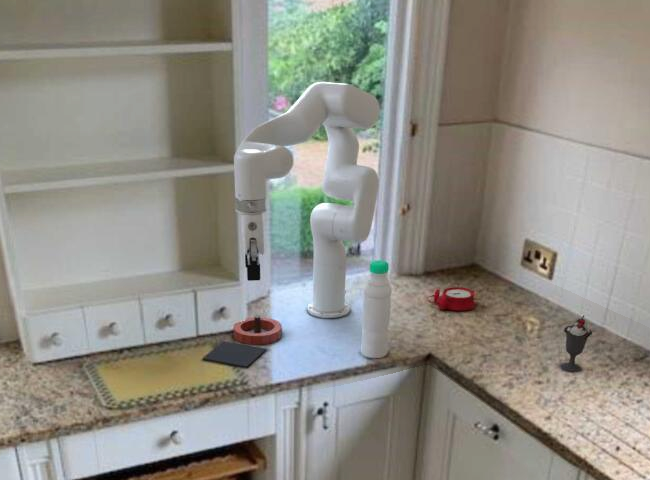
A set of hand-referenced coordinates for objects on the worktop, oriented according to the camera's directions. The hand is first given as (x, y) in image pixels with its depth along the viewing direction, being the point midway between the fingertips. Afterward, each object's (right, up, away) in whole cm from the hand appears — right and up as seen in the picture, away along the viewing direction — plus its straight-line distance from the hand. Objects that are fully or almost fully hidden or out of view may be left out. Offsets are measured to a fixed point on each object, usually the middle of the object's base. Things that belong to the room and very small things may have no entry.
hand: (252, 273), depth 201 cm
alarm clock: (+59, -1, +41) cm, 72 cm away
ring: (+1, -12, +24) cm, 27 cm away
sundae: (+81, -24, +4) cm, 85 cm away
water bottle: (+32, -19, +13) cm, 39 cm away
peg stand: (+1, -12, +24) cm, 27 cm away
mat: (-5, -19, +13) cm, 23 cm away
